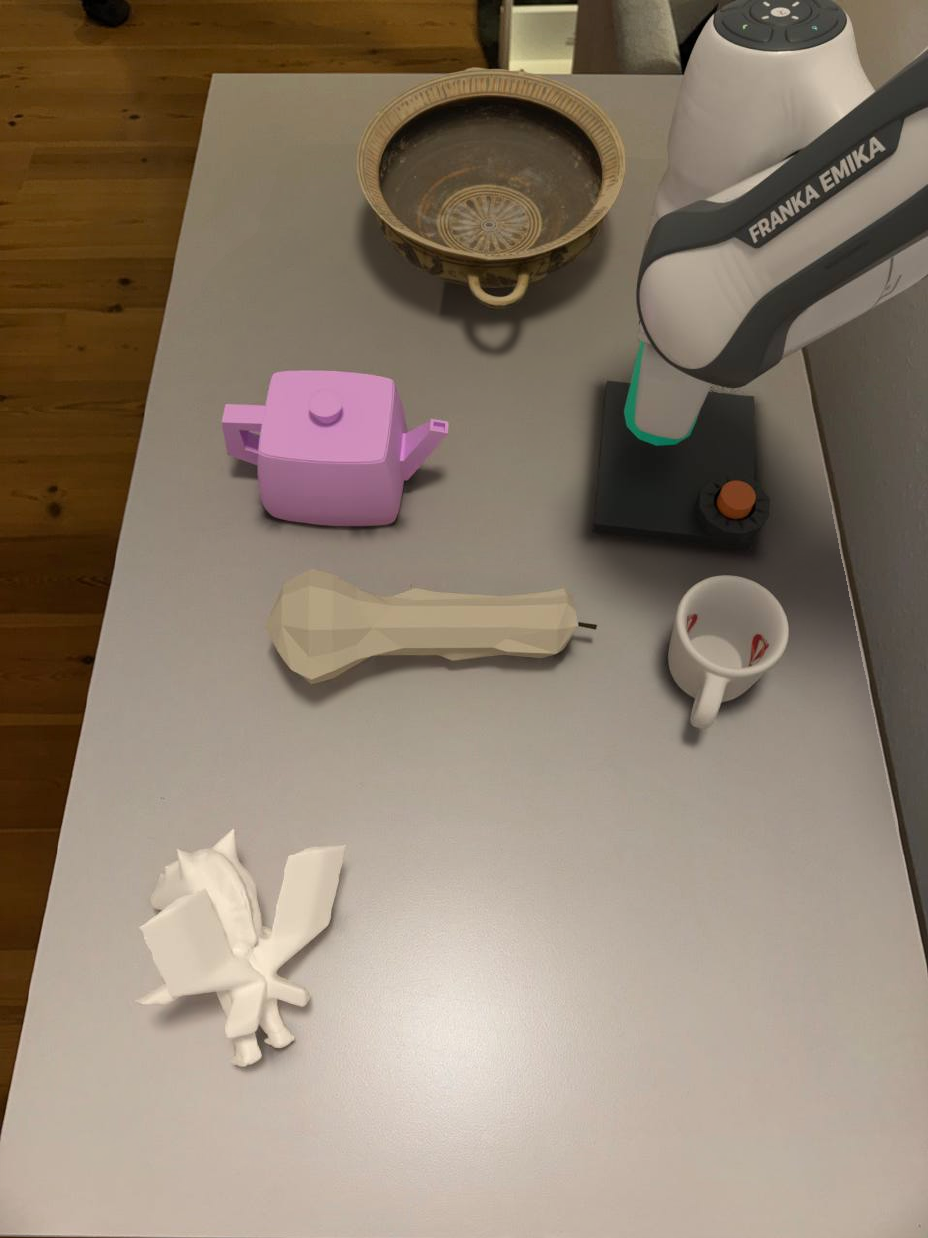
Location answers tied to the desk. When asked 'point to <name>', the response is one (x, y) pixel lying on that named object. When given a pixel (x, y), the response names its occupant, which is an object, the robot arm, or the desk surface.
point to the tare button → (736, 499)
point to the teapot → (330, 447)
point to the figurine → (237, 936)
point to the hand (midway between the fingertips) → (671, 378)
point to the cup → (724, 641)
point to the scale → (678, 476)
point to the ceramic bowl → (491, 177)
